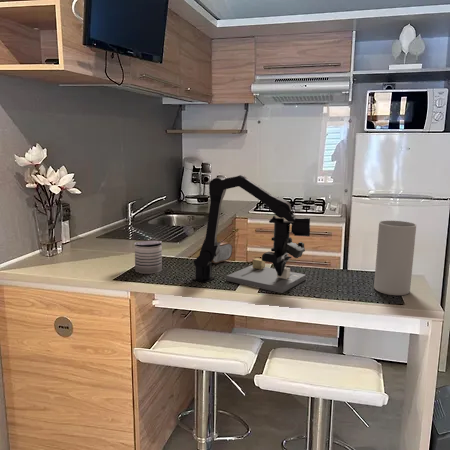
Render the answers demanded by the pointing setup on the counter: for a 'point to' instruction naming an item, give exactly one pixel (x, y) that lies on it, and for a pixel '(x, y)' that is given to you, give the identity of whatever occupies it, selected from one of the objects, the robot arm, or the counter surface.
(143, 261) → the can
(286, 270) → the block
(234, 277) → the fader panel
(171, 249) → the counter surface
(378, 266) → the cylinder vase
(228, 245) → the tin
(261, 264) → the brass fader
